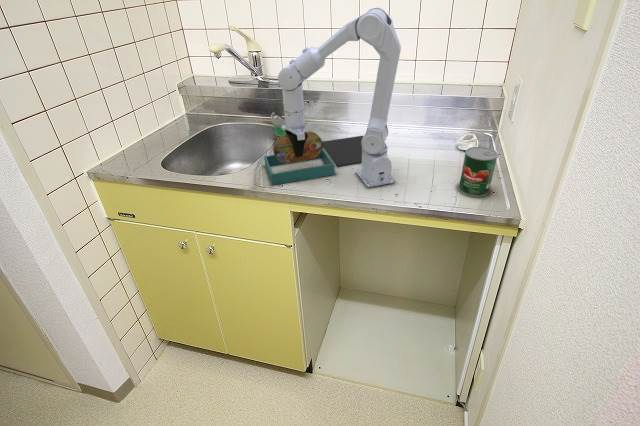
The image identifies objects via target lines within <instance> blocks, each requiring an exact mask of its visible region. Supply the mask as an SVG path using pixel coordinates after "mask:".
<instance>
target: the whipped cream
mask: <svg viewBox="0 0 640 426" xmlns="http://www.w3.org/2000/svg"><path fill="white" fill-rule="evenodd" d="M457 143H458V145H457V148H458V150H461V151H466V150H467V149H468V148H471V147H480V146H479V140H478V138H477V136H476V135H475V134H473V133H468V134H465V135H462V136H461V137H460V139H458V142H457Z"/></svg>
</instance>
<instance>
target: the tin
mask: <svg viewBox="0 0 640 426" xmlns="http://www.w3.org/2000/svg"><path fill="white" fill-rule="evenodd" d="M304 133H307V134H308V138H307V139H306V142H305V145H304V151H303V156H298V157H296V156H295V153H294V149H293V145H292V143H291V140H290V139H289V137H288V135H283V136H281V137H279V138H278V139H277V140H275V141H274V142H273V146H272V151H273V155H275V157H276V159H277V160H278V161H280V162H282V163H286V164H291V163H299V162H305V161H311V159H312V160H315V159H314V158H316V157H317V156H319V155H320V153H321V152H322V149H324V147H323V142H324V141H323V140H322V138H321V137H320V135H318V133H316V132H314V131H305V132H304Z"/></svg>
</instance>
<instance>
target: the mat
mask: <svg viewBox="0 0 640 426" xmlns="http://www.w3.org/2000/svg"><path fill="white" fill-rule="evenodd" d="M363 137H364V135H358V136H351V137H345V138H344V137H343V138H338V139H331V140H325V141H322V142H323V149H324V150H325V152H326V153H327V155H328V156H329V157H330V159H331V160H332V162H333V163H334V165H335V166H336V167H337V168H340V167H344V166H345V167H346V166H351V165H356V164H357V165H358V164H362V145H361V141H362V138H363Z"/></svg>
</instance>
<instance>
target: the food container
mask: <svg viewBox="0 0 640 426" xmlns="http://www.w3.org/2000/svg"><path fill="white" fill-rule="evenodd" d="M270 123H271V124H272V125H273V131H274V135H275V139H276V140H277V139H278V138H279V137H281V136H283V135H287V133H286V132H285V130H283V129H282V125H285V114H283V115H282V114H281V115H280V114H276V113H275V111H274V112H273V111H272V113H271V114H270ZM276 140H275V141H276Z"/></svg>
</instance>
